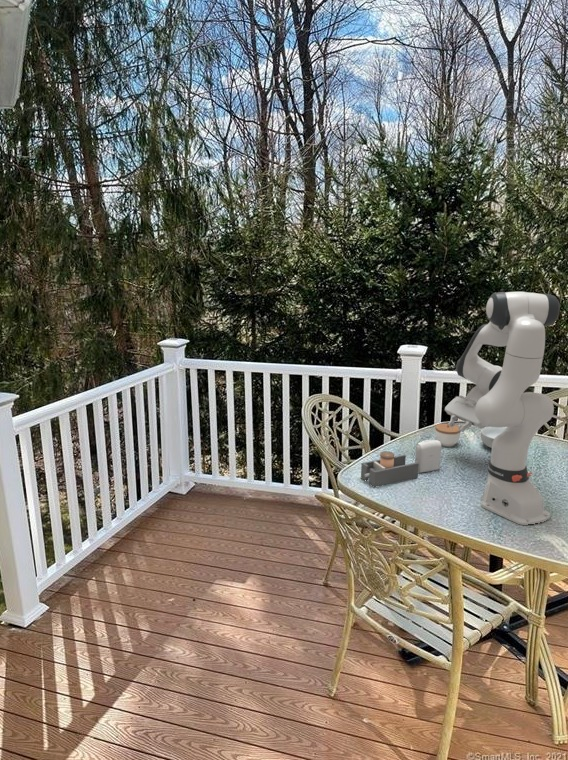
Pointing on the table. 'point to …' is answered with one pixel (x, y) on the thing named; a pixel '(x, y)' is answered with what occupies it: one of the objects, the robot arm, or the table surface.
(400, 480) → the lane
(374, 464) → the pusher
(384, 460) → the jar
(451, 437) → the lidded jar
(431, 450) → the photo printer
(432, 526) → the table surface
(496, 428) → the cereal bowl
